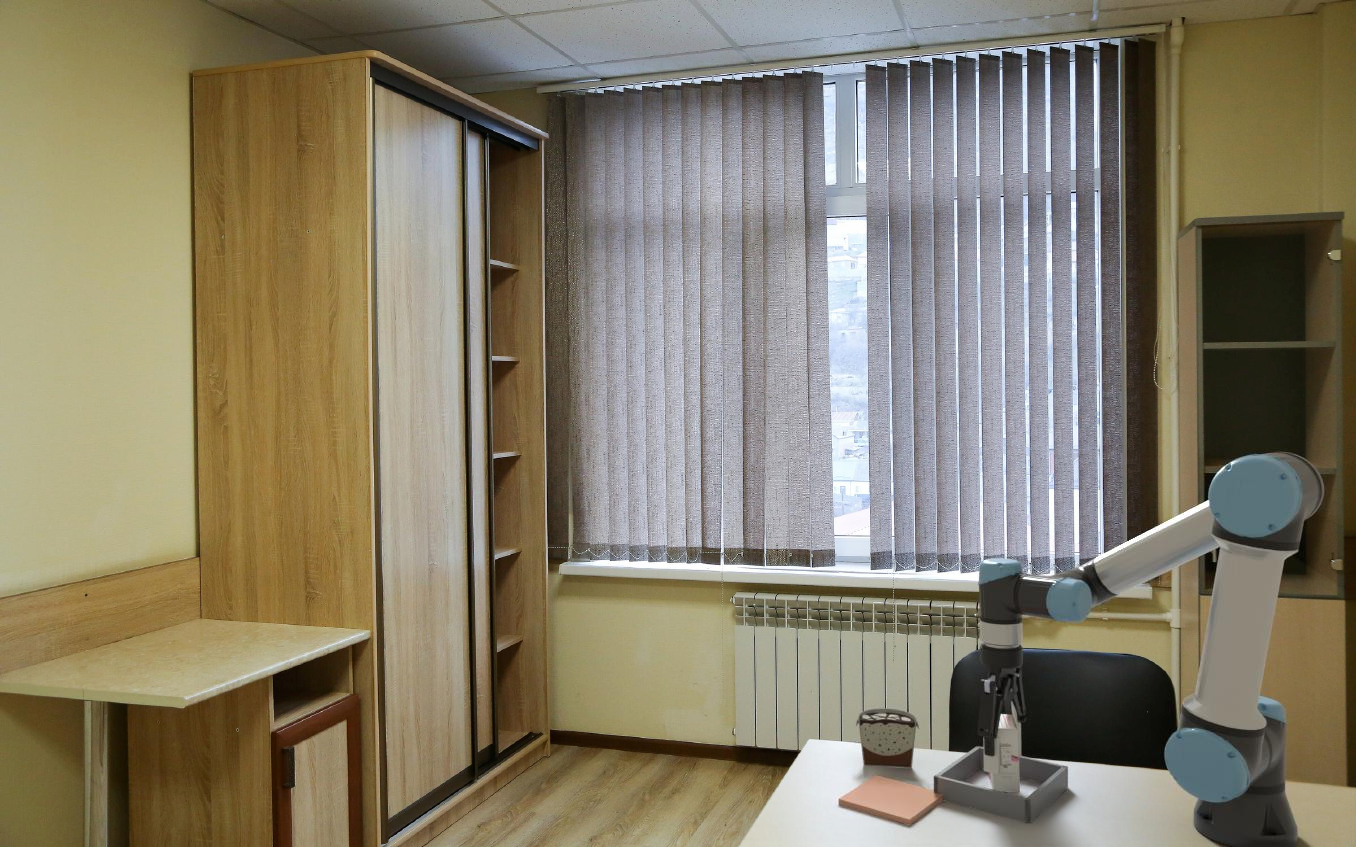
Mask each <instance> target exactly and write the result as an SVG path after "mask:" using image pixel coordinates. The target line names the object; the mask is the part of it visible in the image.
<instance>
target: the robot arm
mask: <svg viewBox="0 0 1356 847" xmlns="http://www.w3.org/2000/svg"><path fill="white" fill-rule="evenodd" d="M1207 495H1208V496H1207V498H1208V499H1207V500H1206V501H1204V502H1202V503H1200V504H1198V505H1196V506H1194V507H1192V508H1190V509H1188V510H1186V511H1184V512H1182V513H1180V514H1179V515H1177V516H1175V517H1172V518H1170V519H1169V520H1167V521H1165V522H1163V523H1161V524H1160V525H1157V526H1154V527H1153V528H1152V529H1150V530H1147V531H1146V532H1144V533H1141V534H1140V535H1137V536H1136V537H1134V538H1132V539H1130V540H1129V541H1126V542H1124V543H1122V544H1121V545H1119V546H1116V547H1115V548H1113V549H1110V550H1109V551H1107V552H1104V553H1102V554H1101V555H1099V556H1097V557H1095V558H1093V559H1091V560H1089V561H1086V562H1085V563H1083V564H1081V565H1079V566H1077V567H1075V568H1072V569H1069V570H1067V571H1062V572H1058V573H1055V574H1052V575H1044V574H1042V575H1041V574H1031V573H1027V572H1023V568H1022V563H1021V562H1020V561H1019V560H1017V559H1012V558H1005V557H1004V558H1003V557H997V558H996V557H995V558H987V559H984V560H982V561H981V562H980V563H979V572H978V573H979V574H978V582H977V585H978V594H979V595H978V597H979V601H978V602H979V622H978V624H977V627H978V628H979V640H980V641H981V643H980V645H979V661H980V663H981V665H983V666H986V667H987V668H988V673H987V677H986V679H982V678H981V680H980V684H979V685H980V697H979V700H980V701H979V709H978V710H979V711H978V722H977V732H976V734H977V736H980V737H983V739H982V740H983V745H982V747H983V751H984V769H983V772H985V773H986V772H987V773H988V772H990V773H994V774H999V773H1000V742H999V737H997V733H998V727H999V721H1000V716H1001V714H1002V709H1003V705H1004V709H1005V714H1011V715H1012V707H1011V701H1012V702H1013V704H1014V707H1015V710H1016V713H1017V722H1018V732H1019V758H1020V757H1021V756H1022V722H1026V721H1027V716H1026V713H1027V712H1026V702H1025V696H1024V694H1025V693H1024V686H1023V680H1022V677H1023V676H1022V674H1023V671H1022V670H1023V669H1022V668H1023V667H1022V666H1023V663H1024V662H1023V661H1024V654H1023V653H1024V651H1023V648H1024V647H1023V646H1022V645H1021V644H1022V643H1023V642H1024V637H1023V636H1024V633H1023V632H1024V631H1023V629H1024V628H1023V616H1028V617H1033V618H1039V619H1045V620H1050V621H1051V620H1053V621H1057V622H1060V623H1081V622H1084V621H1085V620H1086V619H1087V616H1089V615H1090V614H1091V610H1092V608H1096V607H1099V606H1102V605H1103V604H1105V603H1106V602H1108V601H1109V600H1111V599H1113V598H1115V597H1117V596H1118V595H1121V594H1123V593H1125V592H1127V591H1129V590H1132V589H1133V588H1135V587H1138V586H1140V585H1142V584H1144V583H1146V582H1148V581H1150V580H1152V579H1154V578H1156V577H1157V578H1158V577H1159V576H1161V575H1163V574H1165V573H1167V572H1169V571H1171V570H1174V569H1175V568H1178V567H1180V566H1182V565H1184V564H1186V563H1188V562H1190V561H1193V560H1195V559H1197V558H1198V557H1201V556H1203V555H1205V554H1207V553H1210V552H1211V551H1212V552H1213V551H1214V550H1216V549H1218V548H1219V552H1218V553H1219V554H1218V559H1217V564H1216V571H1215V576H1214V582H1213V589H1212V594H1211V599H1210V605H1209V611H1208V616H1207V621H1206V629H1205V634H1204V640H1203V646H1202V652H1201V657H1200V664H1199V669H1198V675H1197V679H1196V681H1197V682H1196V686H1195V692H1193V693H1192V694H1191V693H1190V695H1187V696H1186V697H1184V698H1183V700H1182V703H1181V709H1180V716H1179V721H1178V726H1177V727H1178V728H1177V730H1176V731H1175V732H1173V733H1172V734H1170V737H1168V740H1167V742H1166V744H1165V748H1164V761H1165V765H1166V768H1167V769H1168V770H1167V771H1168V772H1169V774H1170V775H1171V777H1173V779H1174V781H1175V782H1176V785H1178V786H1179V787H1180V788H1182V790H1183V791H1185V792H1187V794H1189V795H1191V796H1193V798H1196V799H1197V800H1196V803H1195V805H1194V807H1193V826H1194V827H1195V829H1196V830H1197V831H1198V832H1200V833H1201V834H1202V835H1203V836H1205V837H1207V838H1208V839H1210V840H1213V841H1214V842H1217V843H1220V844H1223V845H1225V846H1229V847H1296V846H1297V845H1298V841H1299V839H1298V838H1299V832H1298V831H1299V829H1298V825H1297V822H1296V820H1295V817H1294V814H1293V811H1292V809H1291V805H1290V803H1289V800H1288V797H1287V793H1286V764H1287V763H1286V762H1287V760H1286V755H1287V753H1286V752H1287V751H1286V746H1287V744H1286V742H1287V740H1286V738H1287V724H1288V721H1287V718H1286V717H1287V716H1286V709H1285V707H1284V705H1283V704H1282V703H1281V702H1279V701H1278V700H1275V699H1272V698H1270V697H1266V696H1262V695H1261V690H1262V684H1263V678H1264V674H1265V667H1266V663H1267V656H1268V651H1269V646H1270V641H1271V635H1272V629H1273V626H1274V625H1273V624H1274V619H1275V614H1276V613H1275V612H1276V608H1277V603H1278V595H1279V591H1280V585H1281V581H1282V580H1281V579H1282V575H1283V569H1284V563H1285V560H1286V559H1287V558H1289V557H1291V556H1293V555H1294V554H1297V553H1298V552H1299V548H1300V543H1301V539H1302V532H1303V527H1304V522H1305V521H1306V520H1307V519H1309V518H1310V517H1312V516H1313V515H1314V514H1315V513H1316V512H1317V510H1318V509H1319V508H1320V506H1321V504H1322V502H1323V499H1324V495H1325V485H1324V481H1323V478H1322V476H1321V473H1320V472H1319V470H1318V469H1317V467H1315V465H1314V464H1313V463H1312V462H1310V461H1309V460H1307V459H1306V458H1305V457H1302V456H1300V455H1298V454H1296V453H1292V452H1286V451H1274V452H1273V451H1272V452H1267V453H1261V454H1257V453H1254V454H1248V455H1245V456H1244V455H1243V456H1241V457H1238V458H1235V459H1234V460H1232V461H1230V462H1229V463H1228V464H1226V465H1224V466H1223V467H1222V468H1221V469H1220V470H1219V471H1218V472H1217V473H1216V474H1215V475H1214V477H1213V479H1212V480H1211V483H1210V485H1209V488H1208V494H1207Z"/></svg>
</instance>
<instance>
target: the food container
mask: <svg viewBox="0 0 1356 847" xmlns="http://www.w3.org/2000/svg"><path fill="white" fill-rule="evenodd" d="M857 726H858V728H859V729H858V730H859V737H860V744H861V745H860V746H861V753H862V754H861V755H862V763H863V767H872V768H873V767H876V768H893V769H895V768H896V769H897V768H898V769H913V760H914V758H913V757H914V750H915V749H914V748H915V739H916V730H920V727H919V721H918V719H917V717H916V715H914V714H913V713H911V712H908V711H905V710H901V709H895V708H884V707H883V708H881V707H880V708H871V709H865V710H864V711H862V712H860V713H859V714H858V717H857V719H856V724H855V727H857Z"/></svg>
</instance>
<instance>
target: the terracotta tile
mask: <svg viewBox="0 0 1356 847" xmlns="http://www.w3.org/2000/svg"><path fill="white" fill-rule="evenodd" d="M942 801H943V802H944V800H943V795H942V794H938V793H934V789H930V788H926V787H922V786H919V785H914V784H911V783H907V782H903V781H900V780H896V779H893V778H888V777H884V776H880V775H876V774H875V775H873V777H871V778H869V779H867V780H866V781H864V782H862V784H860V785H858V786H857V787H855V788H854V789H852V790H850V791H849V792H846V793H845V794H844V795H842V796H840V797H839V798H838V805H839V806H842V807H846V808H849V809H853V810H856V811H860V812H863V813H867V814H870V815H874V816H877V817H880V818H884V819H886V820H889V821H890V820H891V821H895V822H897V823H901V824H904V825H907V826H910V825H912V824H913V823H915V822H916V821H917V820H919V819H920V818H921V817H923V816H924V815H925V814H927V813H928V812H929V811H930V810H932V809H933V808H935V807H936V806H937V805H939V804H940V803H941V802H942Z"/></svg>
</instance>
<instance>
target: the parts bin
mask: <svg viewBox="0 0 1356 847" xmlns="http://www.w3.org/2000/svg"><path fill="white" fill-rule="evenodd" d="M979 769H982V770H984V751H983V746H980V745H977V746H975V747H973V748H972V749H971V750H969V751H968V752H966V753H965V754H963V755H962V756H961V757H960V758H958V759H956V760H955V761H953V762H952V763H950V764H949V765H948V766H946V767H945V768H943V769H941V771H939V772H938V773H935V775H933V790H934V793H938V794H942V795H943V802H944V801H945V802H949V803H952V804H955V805H959V806H963V807H966V808H971V809H975V810H977V811H981V812H984V813H988V814H993V815H996V816H999V817H1003V818H1007V819H1011V820H1013V821H1014V820H1015V821H1019V822H1022V823H1025V824H1031V823H1032V822H1033V821H1034V820H1035V819H1036V818H1037V817H1038V816H1039V815H1041V813H1042V812H1043V811H1045V810H1046V809H1047V808H1048V807H1049V806H1050V805H1051V804H1052V803H1054V801H1055V800H1057V799H1058V798H1059V797H1060V796H1061V795H1062V794H1063V793H1064V792H1065V791H1066V790H1067V789H1068V788H1069V767H1068V766H1067V765H1063V764H1059V763H1054V762H1049V761H1046V760H1042V759H1041V760H1040V759H1037V758H1033V757H1028V756H1023V755H1021V757H1020V758H1019V775H1020V779H1023V780H1028V781H1031V782H1036V783H1041V785H1039V786H1038V787H1037V788H1036V789H1035V790H1034V791H1033V792H1031V793H1030V794H1029V795H1028V796H1027V797H1024V796H1020V795H1016V794H1013V793H1009V792H1004V791H997V790H993V789H991V788H988V787H985V786H982V785H977V784H974V783H973V784H972V783H969V782H965V781H964V780H966V779H967V778H968V777H970V776H971V775H972V774H974V773H975V772H976V771H978V770H979Z"/></svg>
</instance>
